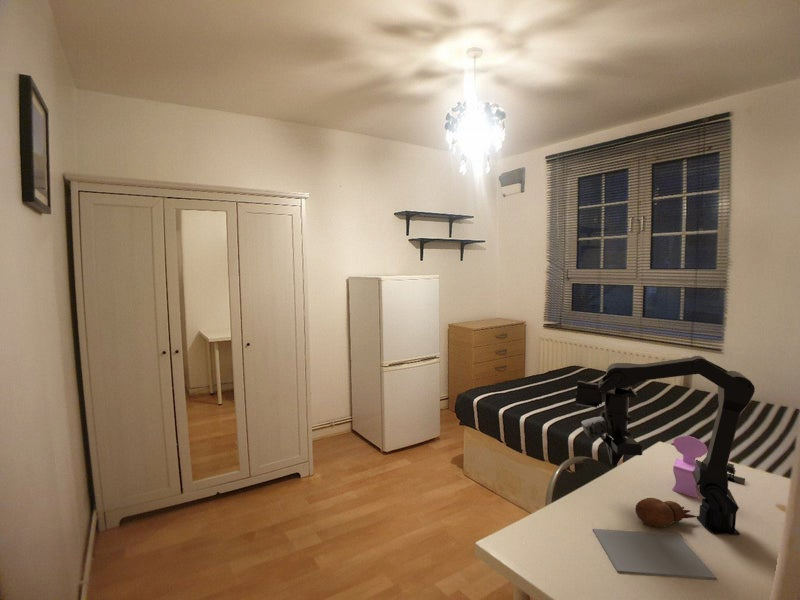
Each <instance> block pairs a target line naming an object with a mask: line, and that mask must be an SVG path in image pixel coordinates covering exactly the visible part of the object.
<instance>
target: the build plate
mask: <svg viewBox="0 0 800 600" xmlns="http://www.w3.org/2000/svg"><path fill="white" fill-rule="evenodd" d="M735 469H736V468H735V464H733V463H730V462H728V464H727V476H728V482H731V483H734V484H738V485H742V486H745V483H746V478H745V477H741V476H737V475H736V471H737V470H735Z"/></svg>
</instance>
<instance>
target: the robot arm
mask: <svg viewBox="0 0 800 600" xmlns="http://www.w3.org/2000/svg"><path fill="white" fill-rule="evenodd" d="M605 372H606V373H605V375H604V376H602V377H601V378H600V379H599V380H598V383H596V382H589V381H584V380H577V382H576V383H577V385H576V392H575V405H577V406H582V407H591V408H596V409H597V408H598V407H600V405H601V406H602V405H603V394H604V395H605V396H604V410H601V411H600V414H599V416H594V417H591V418H587V419H585V420H582V421H581V422H580V423H581V426H582V428H583V432H584V434H585V435H587V437H588V438H589V439H591V438H592V439H593V438H595V437H599V438H600V439H601V440H602V441H603V442H604V443H605V446H606V449H607V454H608V457H609V458H608V459H609V461H610V465H611V466H613V467H616V466H617V465H618V464H619V462H620V461H621V459H622V458H623V456H642V455H643V454H644V453H643V451H644V448H643V446H642V445H641V444H640V443H639V442H638V441H636V439H635V438H633V437H632V438H630V436H631V431H629V430H628V422H632V417H631V416H630V415H629V404H630V403H629V402H630V399H629V398H632V399H637V398H638V394H637V392H636V390H634V389H633V388H632V386H636V385H638V384H640V383H642V382H646V381H651V380H658V379H659V380H660V379H667V378H675V377H676V378H677V377H682V376H683V377H684V376H685V377H686V376H693V375H700V376H701V377H703V378H705V379H706V380H708V381H710V382H711V383H713V384H714V385H716V386H717V399H718V408H717V412H716V416H715V421H714V423H713V428H712V432H711V436H710V440H709V444H708V447H707V452H706V456H705V458H704V459H703V460H702V461H700V460H698V459H695V469H694V471H693V472H692V474H693V477H694V479H695V482H696V484H697V486H696V487H697V489H698V490H699V493H700V495H701V496H702V497H703V498H702V499H701V504H700V505H699V513H698V515H696V516H697V517H696V519H697V521H699V522H700V524H702V525H703V526H704V527H705V528H706V529H707V530H708V531H709V532H710V533H712V534H716V535H731V536H732V535H733V536H740V531H738V530H737V528H736V523H737V522H736V521H737V512H738V510H739V509H740V507H739V505H738V503H737V501H736V500H735V497H734V496H733V494H732V492H731V489H729V481H728V476H727V473H728V472H727V464H728V463H729V459H730V456H731V452H732V448H733V444H734V439H735V438H736V437H735V435H736V431H737V428H738V424H739V421H740V416H741V414H742V412H743V411H744V410H745V409H746V408H747V407H748V405H749V404H750V402H751V400H752V398H753V396H754V394H755V392H756V391H755V389H756V387H755V385H754V384H753V382H752V381H751V380H750V379H749V378H747V377H746V376H745V375H743V373H741V372H739V371H736V370H728V369H726V368H723V367H721V366H720V365H717V364H716V363H714V362H712V361H710V360H708V359H706V358H705V357H703V356H701V355H694V356H691V357H686V358H685V357H683V358H677V359H671V360H662V361H656V362H647V363H631V362H614V363H611V364H609V365H608V366H607V368H606V371H605Z"/></svg>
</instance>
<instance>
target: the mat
mask: <svg viewBox="0 0 800 600" xmlns="http://www.w3.org/2000/svg"><path fill="white" fill-rule="evenodd" d="M592 532H593V534H594V535H595V537H596V538H597V541H598V542H599V543H600V545H601V547H602V549H603V551H604V552H605V554H606V556H607V557H608V559H609V560H610V562H611V564H612V566H613V568H614V569H615V571H616V572H617V573H619V574H633V575H634V574H635V575H648V576H649V575H651V576H661V577H662V576H665V577H666V576H667V577H679V578H681V577H682V578H691V579H706V580H707V579H709V580H718V578H717V575H715V574H714V572H713V571H712V570H711V569H710V568H709V567H708V566H707V565H706V563H704V561H703V560H702V559H701V558H700V556H698V555H697V554H696V552H695V551H694V550H693V549H692V548H691V547H690V546H689V544H688V543H687V542H686V541H685V540H684V539H683V538H682V537H681V536H680V535H679V534H678V533H669V532H655V531H654V532H653V531H652V532H651V531H637V530H636V531H634V530H621V529H620V530H619V529H618V530H617V529H605V528H603V529H601V528H592Z"/></svg>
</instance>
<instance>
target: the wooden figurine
mask: <svg viewBox="0 0 800 600" xmlns="http://www.w3.org/2000/svg"><path fill="white" fill-rule="evenodd" d="M690 513H691V510H690V509H685V506H681V504H679V503H678V502H676V501H673V500H672V501H671V500H666V501H663V500H660V499H659V498H656V497H646V498H644V499H641V500H639V501H637V503H636V505H635V515H636V516H637V518H638V519H639V520H640V521H641V522H642V523H643V524H644V525H645V524H646V525H647V526H650V527H653V528H665V527H669V526H671V525H672V524H673V523H675V522H680V521H683V519H692V518H693V519H695V518H697V516H698V515H693V514H690Z"/></svg>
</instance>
